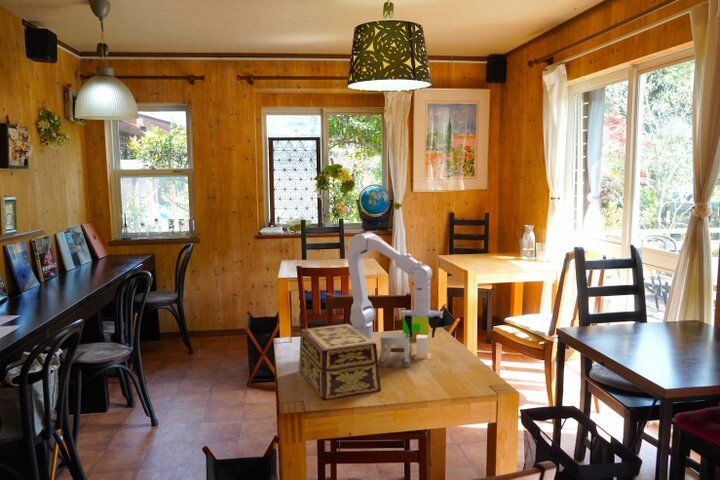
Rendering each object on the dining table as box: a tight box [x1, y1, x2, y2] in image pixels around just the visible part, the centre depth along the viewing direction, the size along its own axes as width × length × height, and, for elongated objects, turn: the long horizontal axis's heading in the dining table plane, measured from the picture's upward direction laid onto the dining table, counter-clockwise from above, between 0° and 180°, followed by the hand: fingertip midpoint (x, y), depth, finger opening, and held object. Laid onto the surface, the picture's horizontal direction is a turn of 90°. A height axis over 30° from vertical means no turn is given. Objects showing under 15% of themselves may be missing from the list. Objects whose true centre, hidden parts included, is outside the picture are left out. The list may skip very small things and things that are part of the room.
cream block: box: [415, 335, 429, 357], centre depth 199 cm, size 4×4×7 cm
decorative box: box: [298, 323, 382, 402], centre depth 177 cm, size 28×19×15 cm
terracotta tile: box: [413, 351, 432, 360], centre depth 199 cm, size 6×7×1 cm
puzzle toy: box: [402, 308, 430, 340], centre depth 225 cm, size 10×10×10 cm
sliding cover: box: [380, 332, 410, 362], centre depth 191 cm, size 9×6×8 cm, turn 82°
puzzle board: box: [379, 344, 413, 369], centre depth 197 cm, size 10×20×2 cm, turn 172°
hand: (422, 336), depth 198 cm, fingers open, 7 cm apart
